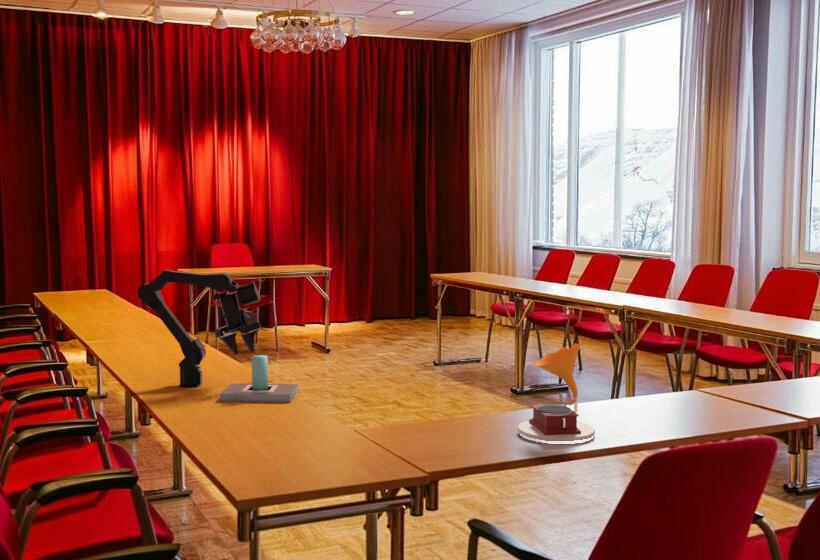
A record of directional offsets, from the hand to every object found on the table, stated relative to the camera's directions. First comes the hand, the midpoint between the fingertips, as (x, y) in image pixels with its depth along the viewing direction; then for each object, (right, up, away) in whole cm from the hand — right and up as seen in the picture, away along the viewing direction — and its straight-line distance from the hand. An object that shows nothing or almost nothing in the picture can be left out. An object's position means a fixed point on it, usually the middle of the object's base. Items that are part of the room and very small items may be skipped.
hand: (244, 353), depth 306 cm
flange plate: (+8, -13, -16) cm, 22 cm away
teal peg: (+8, -13, -16) cm, 22 cm away
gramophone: (+96, -17, -62) cm, 115 cm away
